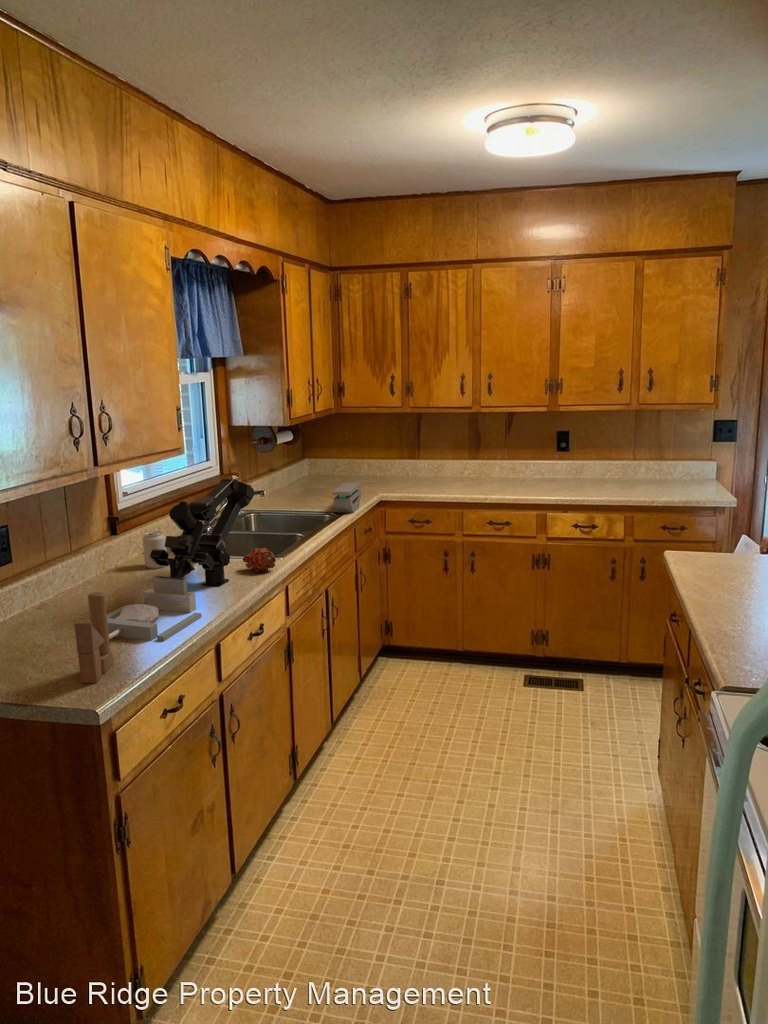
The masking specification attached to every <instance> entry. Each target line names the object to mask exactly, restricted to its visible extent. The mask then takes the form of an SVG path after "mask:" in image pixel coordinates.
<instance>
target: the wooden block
mask: <svg viewBox="0 0 768 1024" xmlns="http://www.w3.org/2000/svg"><path fill="white" fill-rule="evenodd" d="M87 599H88V609H89V619H90V622H82V623H81V622H76V623H75V622H74V624H73V625H74V634H75V639H76V640H75V642H76V650H77V651H76V652H77V656H78V657H77V658H78V666H79V673H80V674H79V675H80V682H81V684H96V683H98V682H99V680H100V679H101V678H102V677H103V674H105V673H106V672H107V671H108V670H109V669H110V668H111V667H112V665H113V664H114V656H113V655H114V654H113V649H111V645H110V639H109V633H108V623H107V614H108V613H107V603H106V594H105V592H103V591H94V592H91V593H89V594H88V595H87Z"/></svg>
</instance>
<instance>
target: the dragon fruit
mask: <svg viewBox="0 0 768 1024" xmlns="http://www.w3.org/2000/svg"><path fill="white" fill-rule="evenodd" d="M242 562H243V563H245V567H246V568H248V569H252V570H254V572H255V573H259V572H260V571H262V572H264V573H265V572H268V571H269V569H273V568H275V567H276V564H275V563H276V562H277V560H276V557H275V554H274V553H273V552H272V551H270V550H269V549H268V548H265V547H262V548H261V547H260V548H259V547H255V548H254V550H252V552H250V553H248V554H246V555H245V556H243V557H242Z"/></svg>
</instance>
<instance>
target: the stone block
mask: <svg viewBox="0 0 768 1024" xmlns="http://www.w3.org/2000/svg"><path fill="white" fill-rule="evenodd" d="M124 606H125V607H124V608H123V610H122V611H121V613H120V616H118V617H116V618H115V619H120V620H129V621H139V622H148V623H155V622H156V621H158V620H159V611H160V610H158V608H157V607H154V606H150V605H144V603H142V604H141V603H140V604H139V603H133V604H128V605H124Z"/></svg>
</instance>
